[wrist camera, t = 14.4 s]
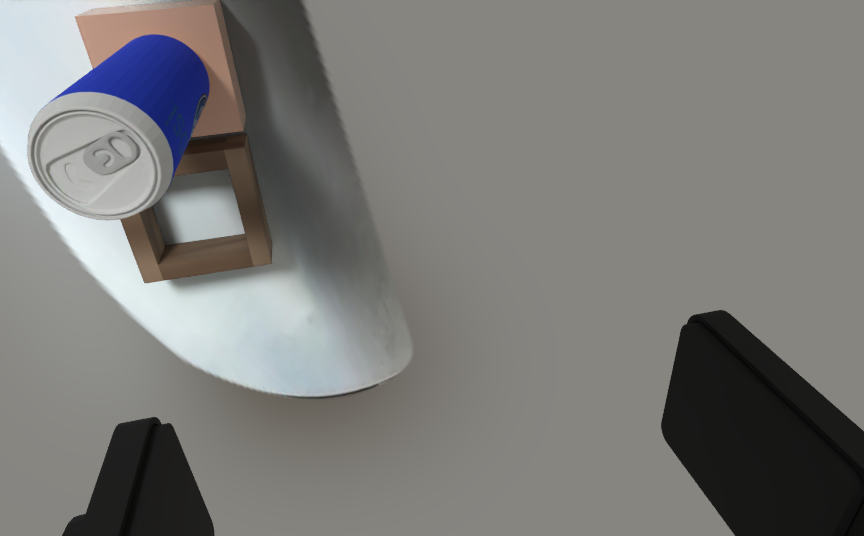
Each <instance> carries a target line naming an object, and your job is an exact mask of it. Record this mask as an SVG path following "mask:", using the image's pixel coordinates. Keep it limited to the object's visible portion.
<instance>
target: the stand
mask: <svg viewBox="0 0 864 536" xmlns="http://www.w3.org/2000/svg"><path fill="white" fill-rule="evenodd" d="M75 19H76V22H77V25H78V28H79V30H80V33H81V36H82V39H83V42H84V45H85V47H86V50H87V53H88V56H89V59H90V62H91V64H92V67H93V69H94V68H95V67H97V66H98V65H99V64H101V63H102V62H103V61H105V60H106V59H107V58H109V57H110V56H111V55H113V54H114V53H115V52H117V51H118V50H119V49H121V48H122V47H123V46H125V45H126V44H127V43H129V42H130V41H132V40H133V39H135V38H137V37H140V36H144V35H150V34H159V35H165V36H169V37H172V38H175V39H177V40H179V41H181V42H182V43H184V44H186V45H187V46H188V47H190V48H191V49H192V50H193V51H194V52H195V53H196V54H197V55H198V56H199V58H200V59H201V61H202V62H203V64H204V66H205V68H206V70H207V73H208V76H209V83H210V91H209V97H208V99H207V102H206V105H205V107H204V109H203V111H202V113H201V116H200V118H199V120H198V122H197V125H196V127H195V129H194V131H193V134H192V136H191V137H199V136H207V135H215V134H224V133H232V132H240V131H243V130H244V125H245V120H246V112H245V108H244V104H243V99H242V95H241V91H240V86H239V82H238V77H237V73H236V69H235V64H234V60H233V55H232V51H231V47H230V42H229V38H228V33H227V29H226V25H225V20H224V16H223V12H222V7H221V3H220V0H191V1H180V2H168V3H156V4H144V5H132V6H121V7H109V8H97V9H91V10H89V11H86V12H84V13H82V14H79V15H77V16H75Z"/></svg>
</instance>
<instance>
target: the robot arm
mask: <svg viewBox="0 0 864 536" xmlns="http://www.w3.org/2000/svg"><path fill="white" fill-rule="evenodd" d="M661 428H662V433H663V436H664V438H665V440H666V442H667V443H668V445H669V446H670V447H671V449H672V450H673V452H674V453H675V454H676V456H677V457H678V458H679V460H680V461H681V463H682V464H683V465H684V467H685V468H686V469H687V471H688V472H689V473H690V475H691V476H692V477H693V478H694V480H695V482H696V483H697V484H698V486H699V487H700V488H701V490H702V491H703V493H704V494H705V495H706V497H707V498H708V499H709V501H710V502H711V503H712V505H713V506H714V507H715V509H716V510H717V512H718V513H719V514H720V516H721V517H722V518H723V520H724V521H725V522H726V524H727V525H728V526H729V528H730V529H731V531H732V532H733V533H734V535H735V536H864V431H863V430H862V429H860V428H859V427H858V426H857V425H856V424H855V423H854V422H852V421H851V420H850V419H849V418H848V417H847V416H846V415H844V414H843V413H842V412H841V411H840V410H839V409H838V408H836V407H835V406H834V405H833V404H832V403H831V402H830V401H828V400H827V399H826V398H825V397H824V396H823V395H822V394H820V393H819V392H818V391H817V390H816V389H815V388H814V387H812V386H811V385H810V384H809V383H808V382H807V381H806V380H805V379H803V378H802V377H801V376H800V375H799V374H798V373H797V372H795V371H794V370H793V369H792V368H791V367H790V366H789V365H787V364H786V363H785V362H784V361H783V360H782V359H780V358H779V357H778V356H777V355H776V354H775V353H774V352H772V351H771V350H770V349H769V348H768V347H767V346H766V345H765V344H763V343H762V342H761V341H760V340H759V339H758V338H757V337H755V336H754V335H753V334H752V333H751V332H750V331H748V329H746V328H745V327H744V326H743V325H742V324H741V323H739V322H738V321H737V320H736V319H735V318H734V317H733V316H731V315H730V314H729V313H727V312H726V311H723V310H718V311H713V312H708V313H702V314H697V315H693V316H691V317H690V318H689V320H688V322H687V324H686V325H684V326H683V327H682V329H681V332H680V337H679V342H678V347H677V352H676V356H675V361H674V365H673V370H672V375H671V380H670V385H669V389H668V394H667V399H666V404H665V409H664V413H663V418H662V422H661ZM62 536H214V527H213V523H212V520H211V517H210V515H209V513H208V510H207V508H206V505H205V503H204V501H203V498H202V496H201V493H200V491H199V489H198V486H197V483H196V481H195V479H194V476H193V474H192V471H191V469H190V467H189V464H188V462H187V459H186V457H185V454H184V452H183V450H182V447H181V445H180V442H179V440H178V437H177V435H176V433H175V430H174V428H173V426H172V425H171V424H170V423H167V424H163V425H162V424H161V422H160V420H159V419H158V418H156V417H152V418H147V419H141V420H136V421H131V422H126V423H120V424H118V425H117V426H116V428H115V430H114V432H113V435H112V438H111V441H110V444H109V447H108V450H107V453H106V456H105V459H104V462H103V465H102V468H101V471H100V474H99V476H98V479H97V482H96V485H95V488H94V491H93V494H92V497H91V500H90V503H89V506H88V509H87V512H86V514H84V515H79V516H76V517H74V518H73V519H72V520H71V521H70V522H69V523H68V525H67V527H66V529H65V531H64V533H63V535H62Z"/></svg>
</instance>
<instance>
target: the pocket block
mask: <svg viewBox="0 0 864 536" xmlns="http://www.w3.org/2000/svg"><path fill="white" fill-rule="evenodd" d="M223 169H229V172H230V176H231V180H232V184H233V188H234V192H235V196H236V199H237V203H238V207H239V211H240V215H241V219H242V223H243V227H244V231H245V234H241V235H234V236H227V237H220V238H213V239H207V240H200V241H193V242H186V243H179V244H172V245H166V246H165V243H164V240H163V237H162V234H161V231H160V228H159V226H158V223H157V220H156V217H155V214H154V211H153V208H152V206H151V207H149V208H147V209H145V210H144V211H141V212H139V213H137V214H135V215H133V216H130V217H127V218H123V219H120V220H121V223H122V225H123V228H124V231H125V233H126V236H127V239H128V241H129V244H130V246H131V249H132V252H133V254H134V257H135V260H136V262H137V265H138V268H139V270H140V273H141V275H142V278H143V281H144V283H150V282H157V281H163V280H170V279H176V278H183V277H189V276H196V275H202V274H209V273H215V272H221V271H228V270H234V269H241V268H247V267H254V266H260V265H267V264H272V241H271V237H270V233H269V228H268V224H267V220H266V215H265V211H264V207H263V202H262V198H261V194H260V189H259V185H258V181H257V176H256V172H255V168H254V163H253V159H252V155H251V150H250V146H249V142H248V137H247V134H242V135H234V136H226V137H217V138H209V139H201V140H193V141H189V143H188V145H187V147H186V149H185V152H184V154H183V156H182V158H181V160H180V163H179V165H178V167H177V169H176V172H175V174H174V176H176V175H184V174H192V173H200V172H208V171H215V170H223Z"/></svg>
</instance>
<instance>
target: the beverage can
mask: <svg viewBox="0 0 864 536" xmlns="http://www.w3.org/2000/svg"><path fill="white" fill-rule="evenodd" d="M209 91H210V83H209V76H208V73H207V70H206V68H205V66H204V64H203V62H202V61H201V59H200V58H199V56H198V55H197V54H196V53H195V52H194V51H193V50H192V49H191V48H190V47H188V46H187V45H186V44H184V43H182V42H181V41H179V40H177V39H175V38H172V37H169V36H165V35H159V34H150V35H144V36H140V37H137V38H135V39H133V40H132V41H130V42H129V43H127V44H126V45H125V46H123V47H122V48H121V49H119V50H118V51H117V52H115V53H114V54H113V55H111V56H110V57H109V58H107V59H106V60H105V61H103V62H102V63H101V64H99V65H98V66H97V67H95V68H94V69H93V70H91V71H90V72H89V73H87V74H86V75H85V76H83V77H82V78H81V79H79V80H78V81H77V82H75V83H74V84H73V85H72V86H70V87H69V88H68V89H66V90H65V91H64V92H62V93H61V94H60V95H58V96H57V97H56V98H54V99H53V100H52V101H50V102H49V103H48V104H47V105H45V106H44V107H43V108H42V109H41V110H40V111H39V112H38V114H37V115H36V116H35V118H34V120H33V122H32V124H31V126H30V130H29V134H28V145H27V156H28V162H29V166H30V169H31V172H32V174H33V176H34V178H35V180H36V181H37V183H38V184H39V185H40V187H41V188H42V190H43V191H44V192H45V193H46V194H47V195H48V196H49V197H50V198H52V199H53V200H54V201H55V202H57V203H58V204H59V205H61V206H62V207H64V208H66V209H67V210H69V211H72V212H74V213H76V214H78V215H81V216H84V217H88V218H93V219H98V220H118V219H123V218H127V217H130V216H133V215H135V214H137V213H139V212H141V211H144V210H145V209H147V208H149V207H151V206H152V205H154V204H155V203H156V202H157V201H159V199H160V198H161V197H162V196H163V195H164V194H165V192H166V190H167V189H168V187H169V185H170V183H171V181H172V178H173V176H174V174H175V172H176V169H177V167H178V165H179V163H180V160H181V158H182V156H183V154H184V152H185V149H186V147H187V145H188V143H189V140H190V138H191V136H192V134H193V131H194V129H195V127H196V125H197V122H198V120H199V118H200V116H201V113H202V111H203V109H204V107H205V105H206V102H207V99H208V97H209Z"/></svg>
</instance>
